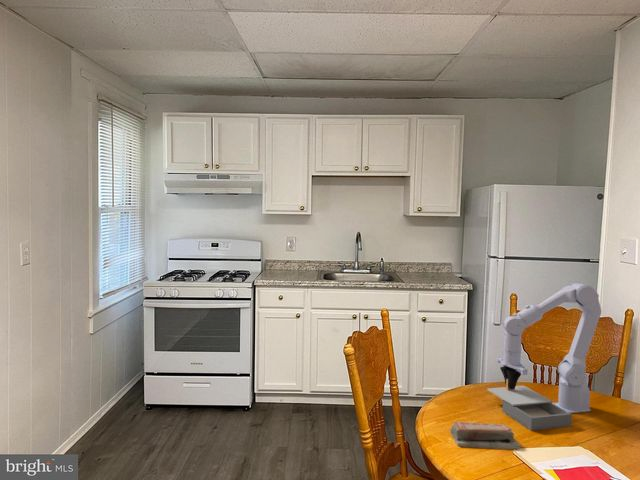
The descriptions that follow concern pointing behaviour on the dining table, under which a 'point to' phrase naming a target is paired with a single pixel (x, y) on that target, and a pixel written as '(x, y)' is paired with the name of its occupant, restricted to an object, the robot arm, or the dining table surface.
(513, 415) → the carton
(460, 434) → the packaged product
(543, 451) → the dining table surface
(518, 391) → the carton lid
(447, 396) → the dining table surface
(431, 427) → the dining table surface
